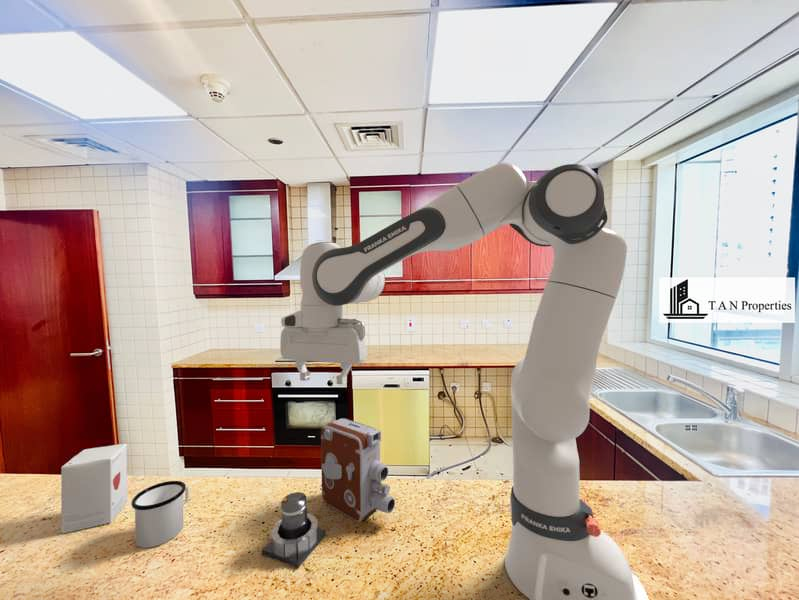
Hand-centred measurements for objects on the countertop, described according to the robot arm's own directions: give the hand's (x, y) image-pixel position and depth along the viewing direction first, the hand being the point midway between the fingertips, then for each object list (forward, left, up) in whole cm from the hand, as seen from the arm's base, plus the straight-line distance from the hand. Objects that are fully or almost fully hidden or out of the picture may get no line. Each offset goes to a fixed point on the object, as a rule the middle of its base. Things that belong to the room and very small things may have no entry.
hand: (323, 381), depth 68 cm
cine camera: (-3, -9, -33) cm, 35 cm away
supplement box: (+54, +15, -33) cm, 65 cm away
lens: (+4, +5, -32) cm, 33 cm away
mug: (+34, +12, -33) cm, 49 cm away
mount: (+4, +5, -33) cm, 34 cm away
